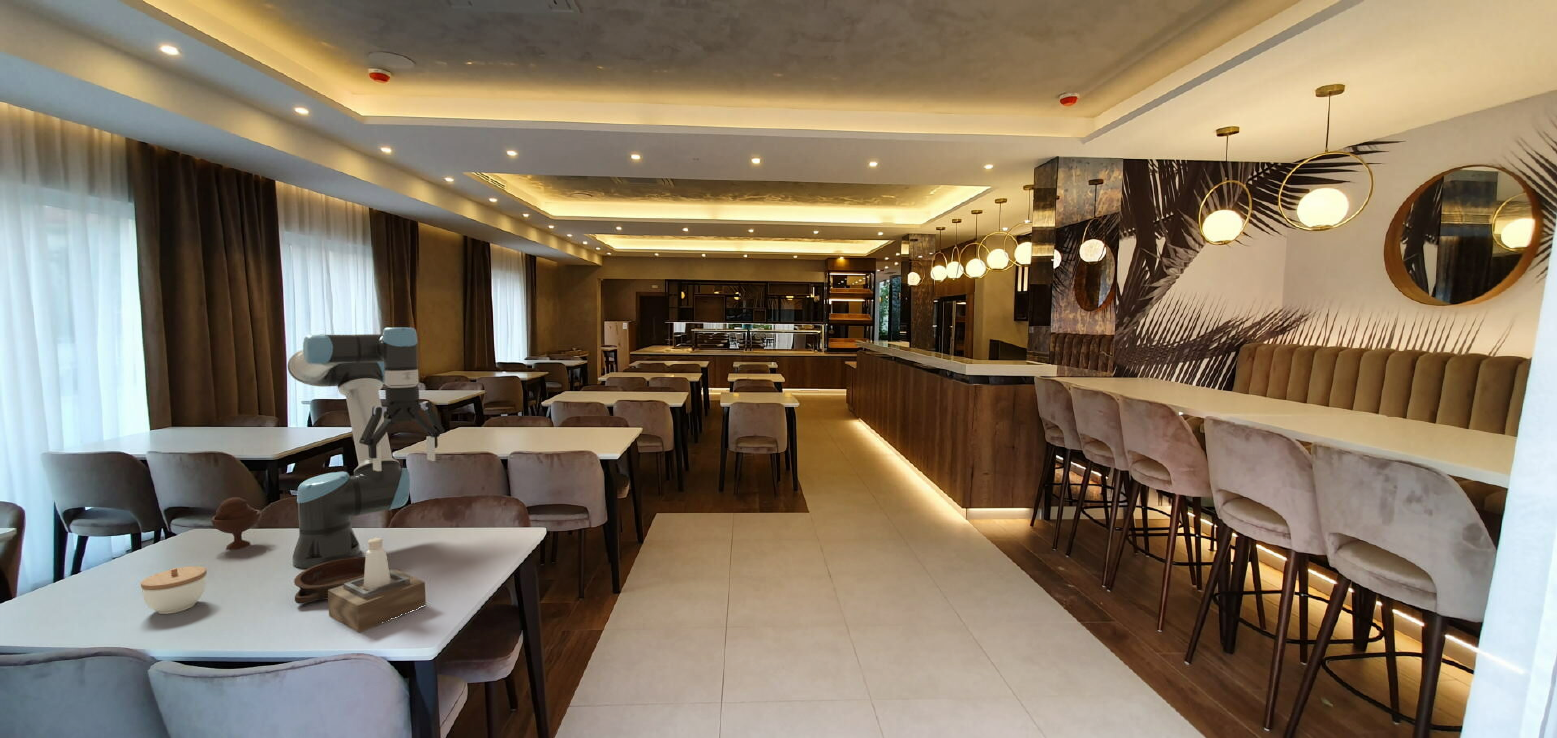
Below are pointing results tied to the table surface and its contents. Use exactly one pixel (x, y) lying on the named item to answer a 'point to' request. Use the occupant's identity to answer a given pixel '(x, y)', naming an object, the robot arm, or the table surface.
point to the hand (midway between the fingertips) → (405, 465)
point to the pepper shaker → (376, 565)
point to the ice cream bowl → (235, 520)
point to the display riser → (375, 601)
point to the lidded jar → (174, 589)
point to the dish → (327, 578)
